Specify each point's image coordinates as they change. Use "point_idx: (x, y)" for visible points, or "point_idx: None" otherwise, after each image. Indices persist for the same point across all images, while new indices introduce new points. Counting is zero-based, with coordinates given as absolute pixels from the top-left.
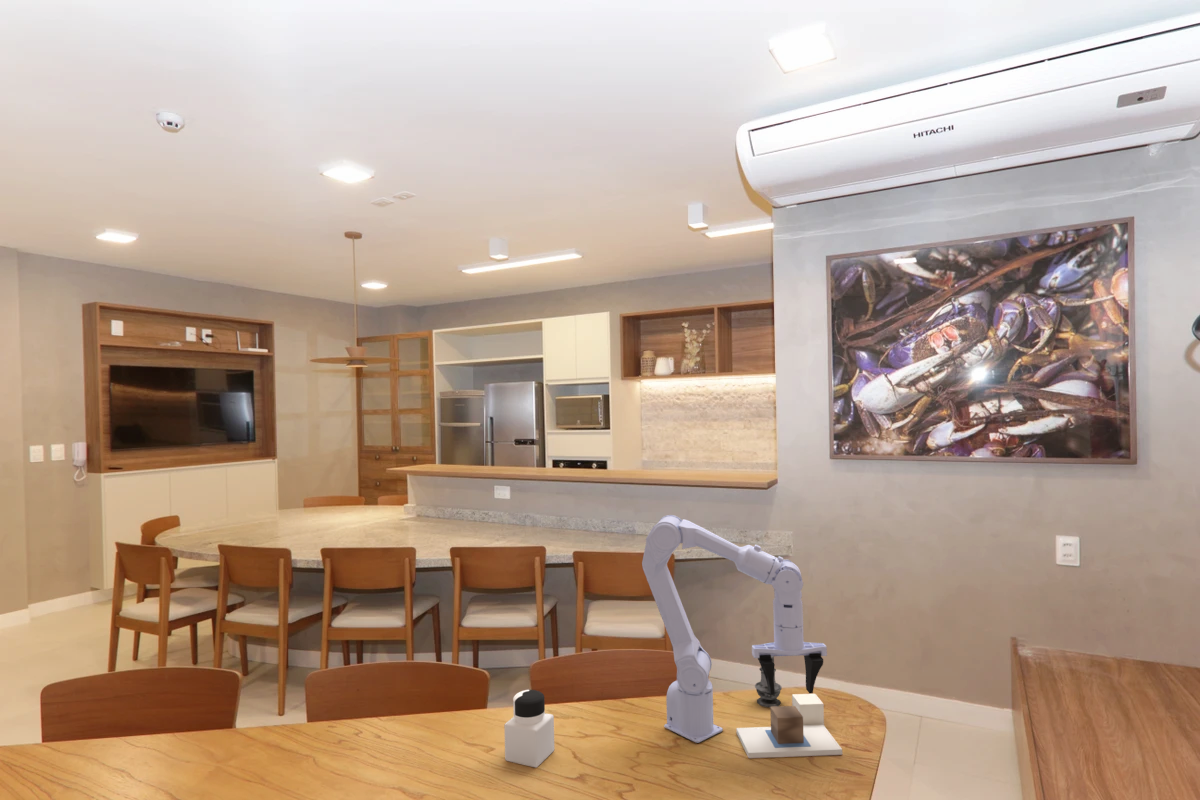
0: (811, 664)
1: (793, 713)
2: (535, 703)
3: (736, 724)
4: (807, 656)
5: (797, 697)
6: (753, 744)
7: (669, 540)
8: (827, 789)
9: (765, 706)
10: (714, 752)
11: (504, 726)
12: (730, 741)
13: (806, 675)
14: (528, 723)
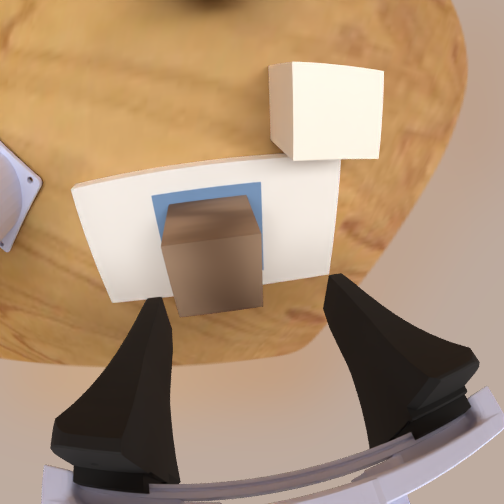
0: (369, 434)
1: (238, 289)
2: None
3: (75, 129)
4: (398, 426)
5: (306, 93)
6: (120, 271)
7: None
8: (249, 358)
9: None
10: (47, 277)
11: None
12: (67, 229)
13: (359, 317)
14: None
